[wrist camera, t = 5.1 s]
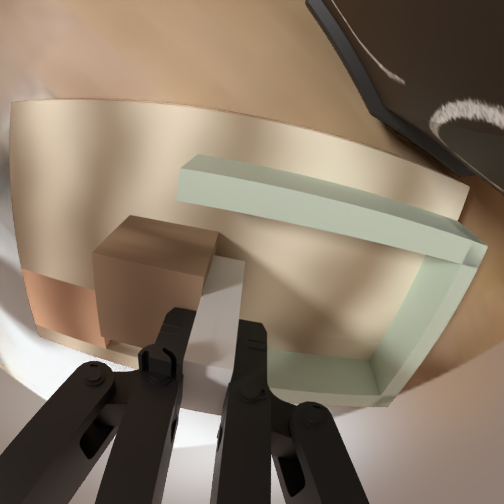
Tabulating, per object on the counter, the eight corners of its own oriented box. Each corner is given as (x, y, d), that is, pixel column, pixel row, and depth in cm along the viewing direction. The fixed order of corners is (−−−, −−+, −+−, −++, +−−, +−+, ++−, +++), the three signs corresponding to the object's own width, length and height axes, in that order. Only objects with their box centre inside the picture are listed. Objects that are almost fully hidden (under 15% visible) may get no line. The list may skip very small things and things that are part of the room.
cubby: (176, 345, 18) (165, 381, 15) (197, 154, 13) (180, 168, 10) (377, 373, 19) (387, 406, 16) (457, 221, 14) (488, 246, 11)
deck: (50, 320, 21) (39, 335, 19) (32, 99, 13) (11, 102, 11) (351, 382, 22) (356, 402, 20) (451, 176, 14) (470, 186, 13)
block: (129, 289, 16) (101, 336, 13) (129, 214, 14) (92, 252, 11) (206, 306, 17) (193, 360, 13) (218, 231, 14) (204, 277, 11)
